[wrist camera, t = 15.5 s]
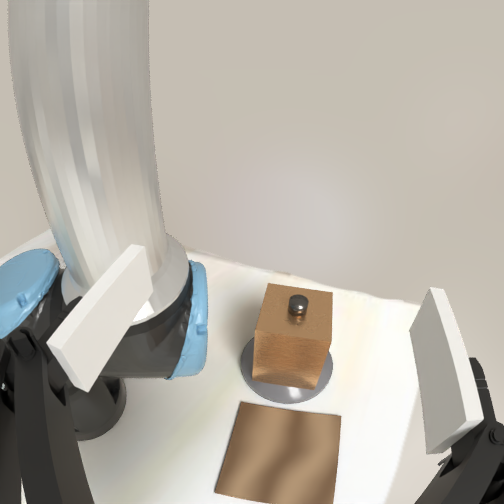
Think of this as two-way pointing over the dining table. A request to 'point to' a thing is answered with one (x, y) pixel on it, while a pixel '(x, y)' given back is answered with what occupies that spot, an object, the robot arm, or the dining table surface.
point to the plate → (277, 391)
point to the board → (281, 456)
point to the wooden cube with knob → (292, 336)
